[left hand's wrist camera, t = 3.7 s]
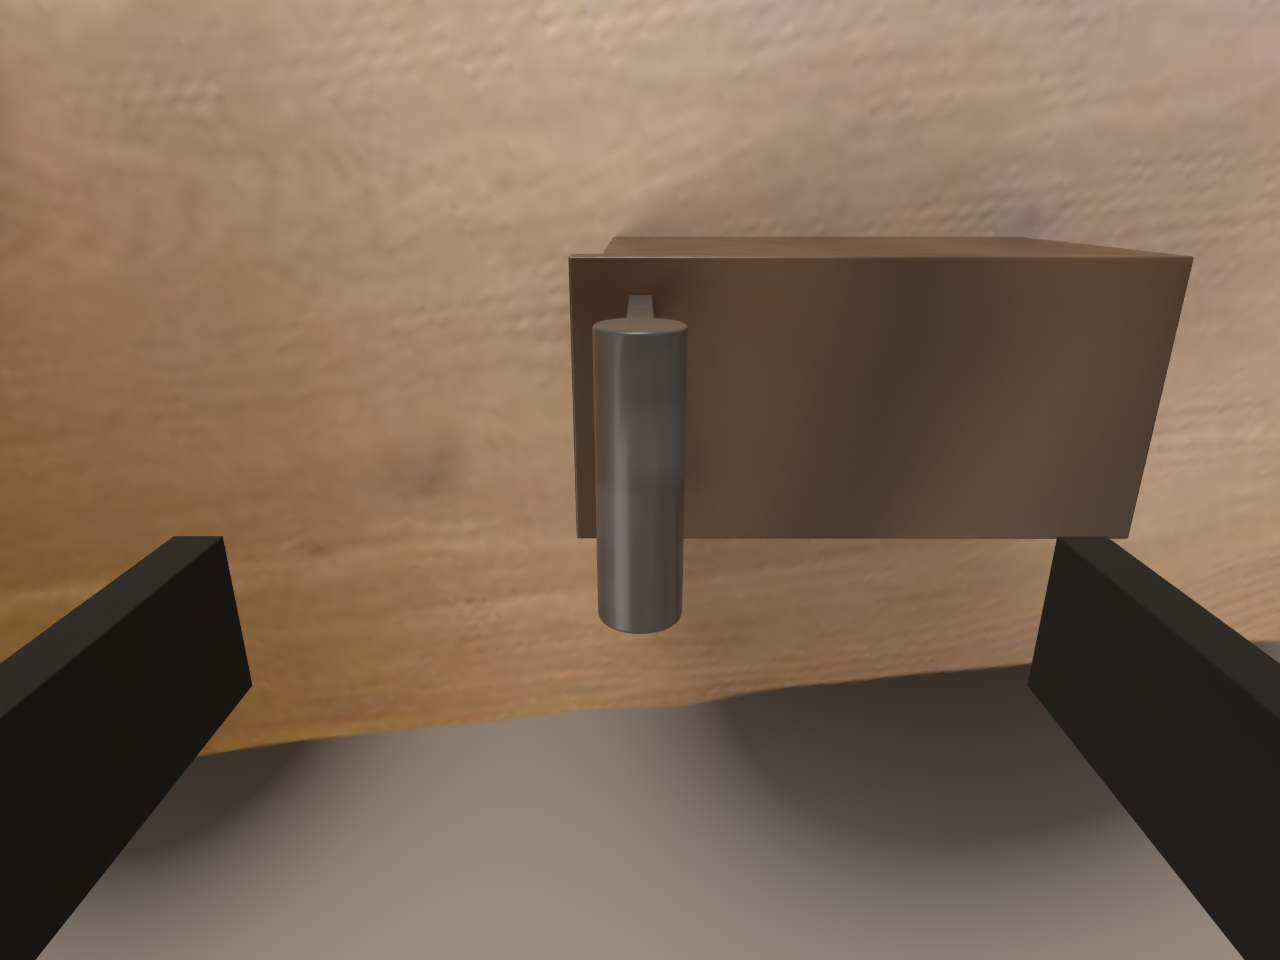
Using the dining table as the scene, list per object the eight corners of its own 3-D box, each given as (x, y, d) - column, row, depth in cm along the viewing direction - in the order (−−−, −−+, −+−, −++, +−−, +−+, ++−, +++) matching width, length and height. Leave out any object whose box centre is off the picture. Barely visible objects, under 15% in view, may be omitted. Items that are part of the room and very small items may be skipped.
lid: (578, 526, 27) (552, 669, 19) (571, 253, 24) (534, 284, 16) (1110, 527, 27) (1313, 670, 19) (1172, 254, 24) (1447, 284, 16)
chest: (615, 440, 37) (606, 525, 27) (613, 237, 34) (601, 253, 24) (989, 440, 37) (1110, 526, 27) (1021, 237, 33) (1171, 254, 24)
